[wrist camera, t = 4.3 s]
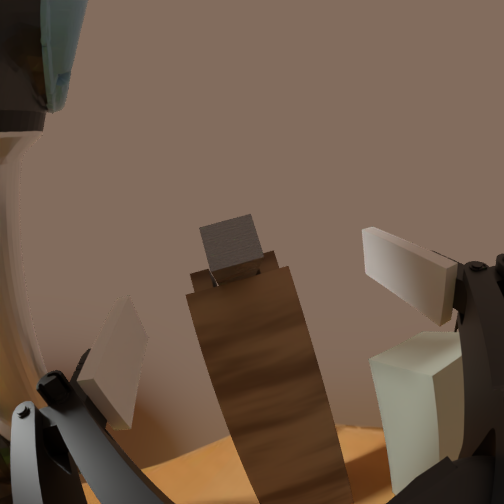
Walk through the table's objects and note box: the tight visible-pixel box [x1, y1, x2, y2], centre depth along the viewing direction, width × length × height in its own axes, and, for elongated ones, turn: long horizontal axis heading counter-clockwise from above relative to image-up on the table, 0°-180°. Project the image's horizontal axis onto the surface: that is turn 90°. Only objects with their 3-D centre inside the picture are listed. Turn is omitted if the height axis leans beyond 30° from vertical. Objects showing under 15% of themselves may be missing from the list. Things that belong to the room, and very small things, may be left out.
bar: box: [199, 214, 264, 286], centre depth 29 cm, size 22×4×3 cm, turn 3°
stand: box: [186, 251, 354, 504], centre depth 28 cm, size 10×10×32 cm
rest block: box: [368, 332, 464, 495], centre depth 17 cm, size 10×7×19 cm
